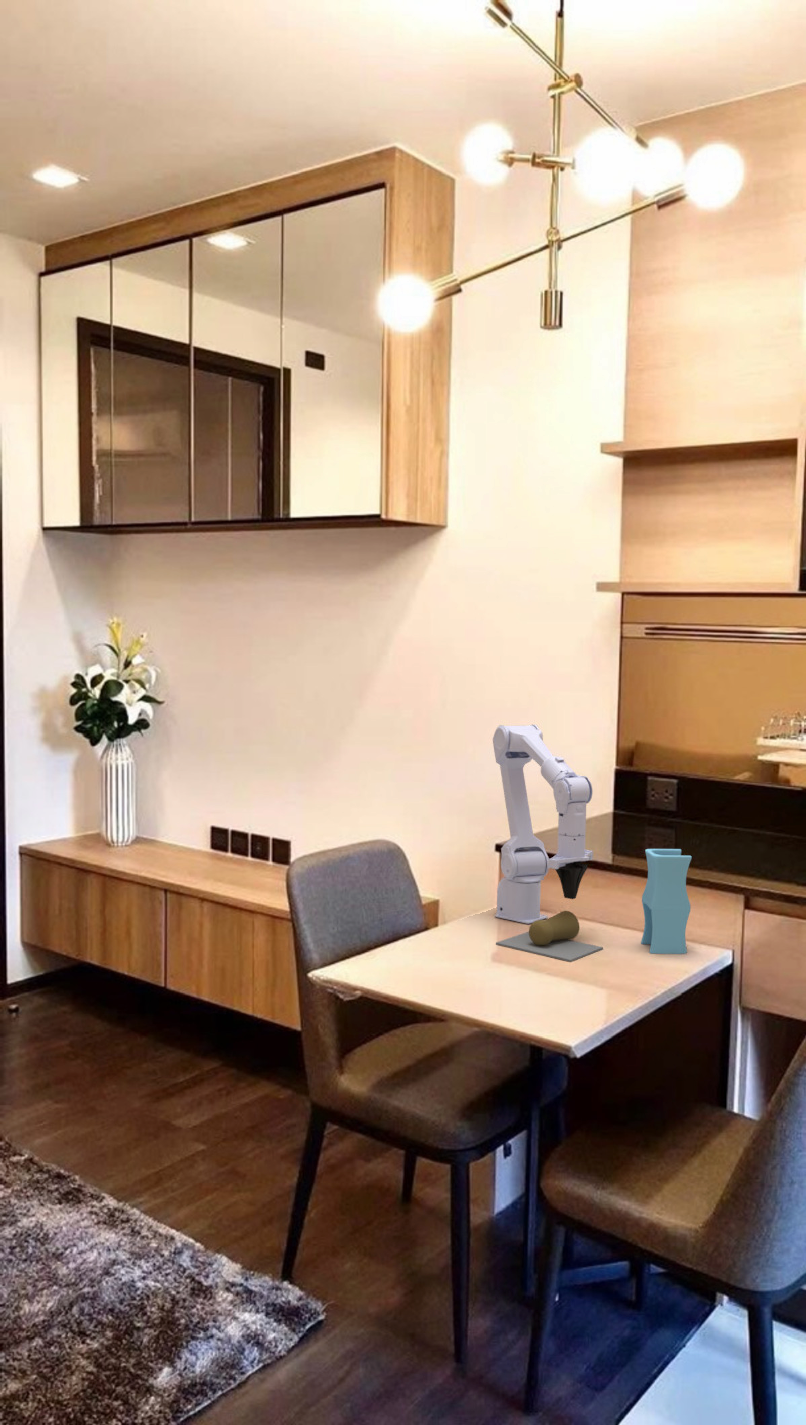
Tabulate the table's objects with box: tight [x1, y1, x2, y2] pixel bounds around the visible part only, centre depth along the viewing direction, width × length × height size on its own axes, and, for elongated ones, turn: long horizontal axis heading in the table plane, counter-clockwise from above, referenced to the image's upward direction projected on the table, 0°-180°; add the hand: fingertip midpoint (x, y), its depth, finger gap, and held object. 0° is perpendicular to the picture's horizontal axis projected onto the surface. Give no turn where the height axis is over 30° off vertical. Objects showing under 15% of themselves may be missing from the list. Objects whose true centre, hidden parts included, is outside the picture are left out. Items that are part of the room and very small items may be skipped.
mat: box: [495, 931, 604, 963], centre depth 224 cm, size 18×12×1 cm
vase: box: [640, 848, 692, 955], centre depth 224 cm, size 8×8×20 cm
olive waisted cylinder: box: [528, 910, 580, 946], centre depth 226 cm, size 6×6×11 cm
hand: (570, 898), depth 229 cm, fingers closed
